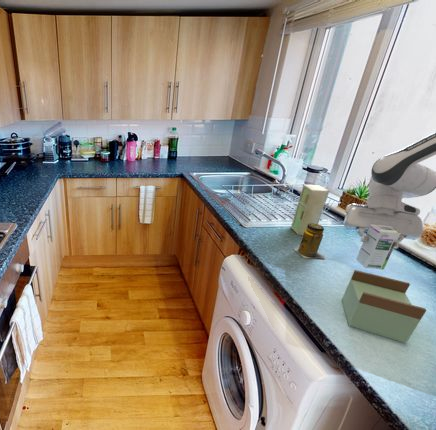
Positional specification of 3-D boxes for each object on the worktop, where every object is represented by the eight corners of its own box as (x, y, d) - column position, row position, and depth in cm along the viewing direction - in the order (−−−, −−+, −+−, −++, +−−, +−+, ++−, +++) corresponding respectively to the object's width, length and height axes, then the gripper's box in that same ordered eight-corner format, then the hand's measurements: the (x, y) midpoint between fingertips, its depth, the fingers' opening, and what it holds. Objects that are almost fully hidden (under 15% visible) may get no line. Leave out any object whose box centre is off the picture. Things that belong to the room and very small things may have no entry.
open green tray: (392, 313, 82) (409, 282, 78) (406, 343, 73) (426, 310, 68) (341, 299, 88) (354, 269, 83) (348, 325, 78) (363, 293, 73)
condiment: (293, 248, 115) (301, 221, 110) (314, 249, 115) (323, 222, 110) (303, 258, 108) (313, 230, 103) (326, 259, 108) (337, 231, 103)
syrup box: (365, 268, 98) (382, 231, 92) (355, 259, 104) (370, 223, 98) (383, 270, 97) (402, 232, 91) (372, 260, 103) (389, 224, 97)
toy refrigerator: (288, 227, 132) (301, 183, 124) (305, 228, 131) (320, 185, 123) (296, 235, 125) (310, 190, 116) (314, 236, 124) (330, 191, 116)
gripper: (349, 198, 102) (344, 234, 98) (426, 210, 93) (424, 249, 89) (343, 206, 108) (338, 240, 104) (415, 217, 99) (413, 255, 95)
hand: (379, 244), depth 97 cm, fingers closed on syrup box, 7 cm apart
